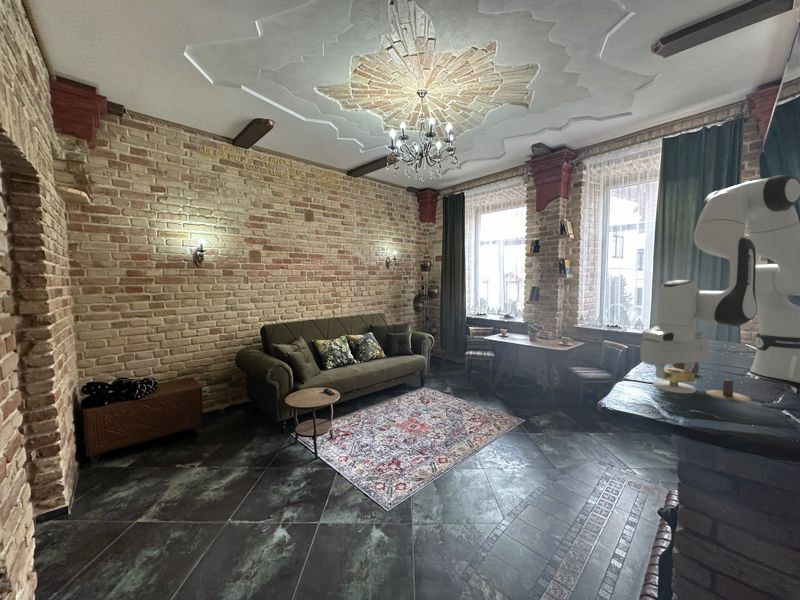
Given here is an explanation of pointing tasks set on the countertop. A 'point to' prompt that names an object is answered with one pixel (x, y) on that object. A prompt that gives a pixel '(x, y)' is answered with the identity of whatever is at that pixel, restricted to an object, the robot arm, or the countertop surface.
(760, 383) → the countertop surface
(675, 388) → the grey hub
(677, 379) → the yellow square frame
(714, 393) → the oak stand
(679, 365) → the vase
